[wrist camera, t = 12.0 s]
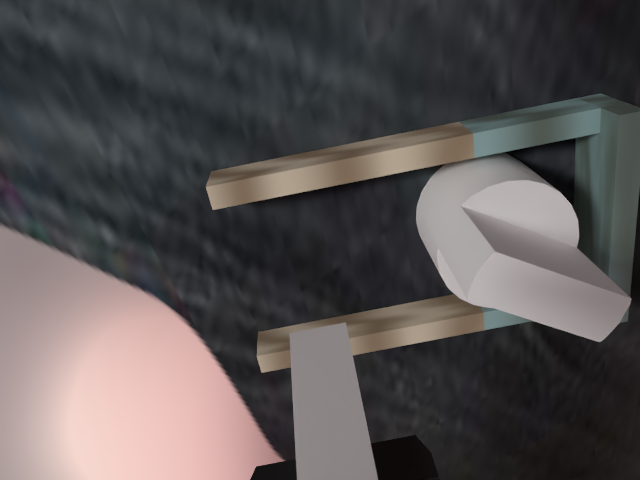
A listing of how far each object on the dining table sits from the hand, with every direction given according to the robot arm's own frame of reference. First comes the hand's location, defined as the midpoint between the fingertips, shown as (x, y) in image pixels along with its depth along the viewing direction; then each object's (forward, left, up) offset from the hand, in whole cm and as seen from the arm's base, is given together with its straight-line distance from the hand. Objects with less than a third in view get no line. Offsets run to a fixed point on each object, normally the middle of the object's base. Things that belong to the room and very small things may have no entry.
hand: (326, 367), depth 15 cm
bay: (+6, -9, -24) cm, 26 cm away
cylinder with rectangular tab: (+12, -8, -24) cm, 28 cm away
